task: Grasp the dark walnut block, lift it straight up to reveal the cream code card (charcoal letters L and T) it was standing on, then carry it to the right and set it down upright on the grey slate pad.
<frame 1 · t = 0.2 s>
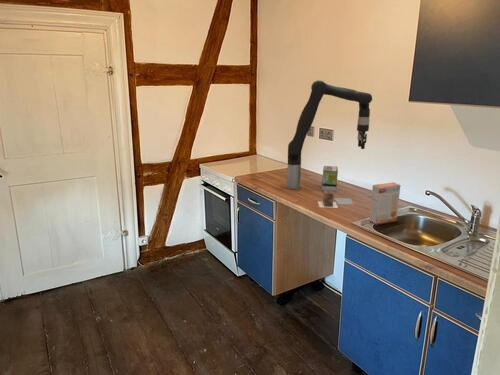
hand: (361, 147, 255), 29 cm above the countertop, fingers open, 8 cm apart
walnut block: (327, 204, 231), resting on code card
slate pad: (343, 201, 236), on the countertop
code card: (327, 204, 231), on the countertop
tea box: (329, 188, 265), on the countertop
cracker box: (382, 221, 204), on the countertop
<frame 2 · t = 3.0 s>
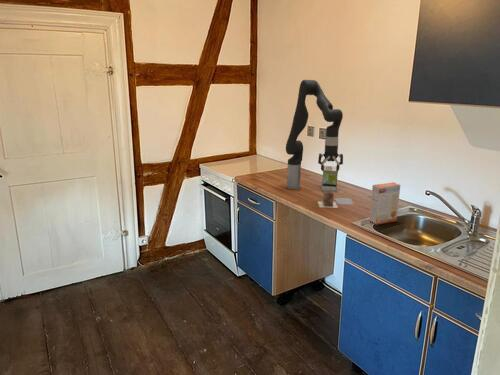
hand: (329, 171, 225), 21 cm above the countertop, fingers open, 8 cm apart
nothing on the countertop moved.
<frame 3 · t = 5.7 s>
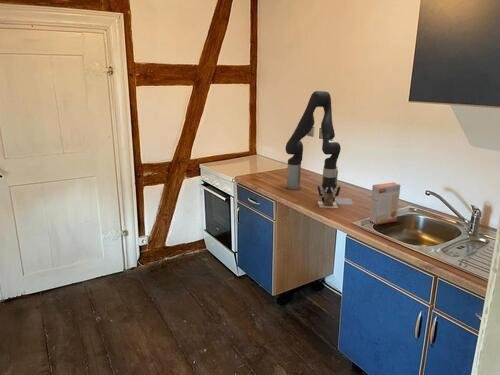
hand: (327, 202, 230), 2 cm above the countertop, fingers closed on walnut block, 5 cm apart
walnut block: (327, 204, 231), resting on code card, touching gripper
everything else where it was.
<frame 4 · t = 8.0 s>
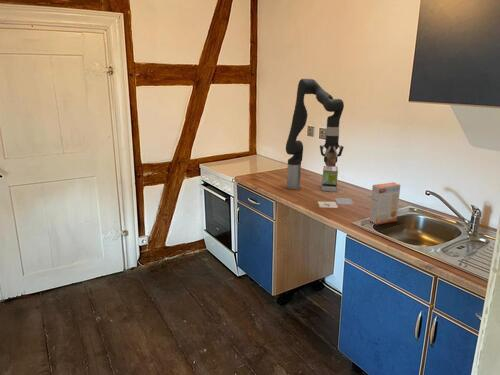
hand: (330, 162, 223), 26 cm above the countertop, fingers closed on walnut block, 5 cm apart
walnut block: (330, 165, 224), point 25 cm above the countertop, touching gripper
everything else where it was.
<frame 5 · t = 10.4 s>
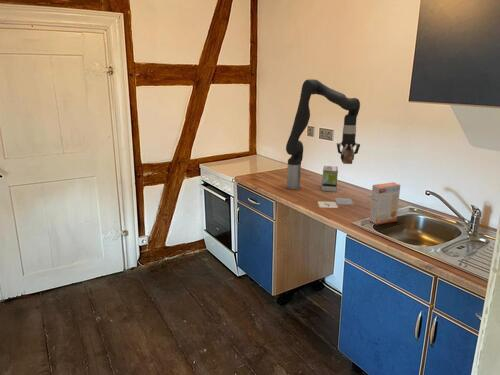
hand: (347, 160, 229), 27 cm above the countertop, fingers closed on walnut block, 5 cm apart
walnut block: (346, 162, 229), point 25 cm above the countertop, touching gripper
everything else where it was.
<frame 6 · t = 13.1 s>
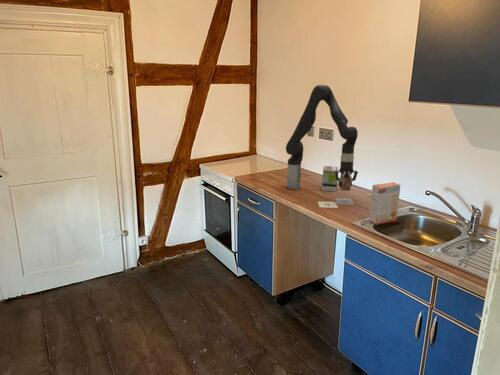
hand: (345, 186, 234), 10 cm above the countertop, fingers closed on walnut block, 5 cm apart
walnut block: (344, 189, 234), point 8 cm above the countertop, touching gripper
everything else where it was.
when the fingers open (3 cm above the countertop, at t = 15.5 s): walnut block drops 1 cm, resting on slate pad.
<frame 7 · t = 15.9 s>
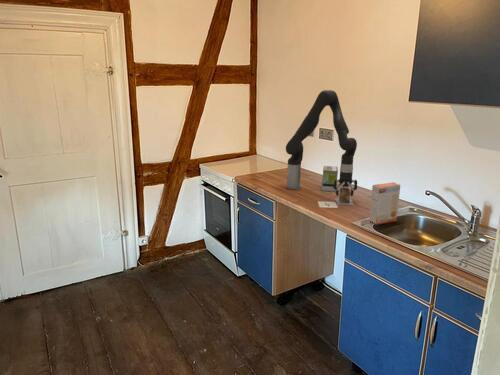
hand: (344, 195, 235), 4 cm above the countertop, fingers open, 8 cm apart
walnut block: (344, 201, 236), resting on slate pad
everything else where it was.
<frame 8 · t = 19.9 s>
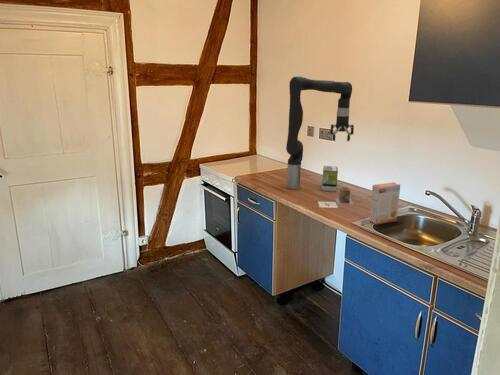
hand: (341, 141, 239), 36 cm above the countertop, fingers open, 8 cm apart
nothing on the countertop moved.
at the end: walnut block inside the target area on the slate pad (0.1 cm from its centre), point 0.4 cm above the slate pad's base; walnut block tilted 0°; walnut block touching slate pad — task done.
